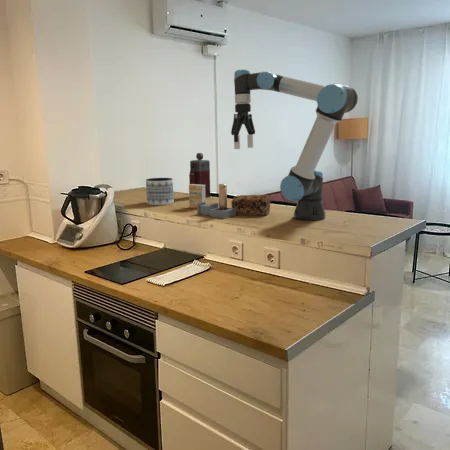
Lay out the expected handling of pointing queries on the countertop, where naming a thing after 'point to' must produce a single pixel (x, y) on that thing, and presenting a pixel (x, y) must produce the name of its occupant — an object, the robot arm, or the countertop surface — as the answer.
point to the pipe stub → (222, 196)
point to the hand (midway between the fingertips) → (243, 148)
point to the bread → (251, 204)
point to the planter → (159, 191)
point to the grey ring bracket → (215, 210)
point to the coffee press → (200, 173)
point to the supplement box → (196, 195)
